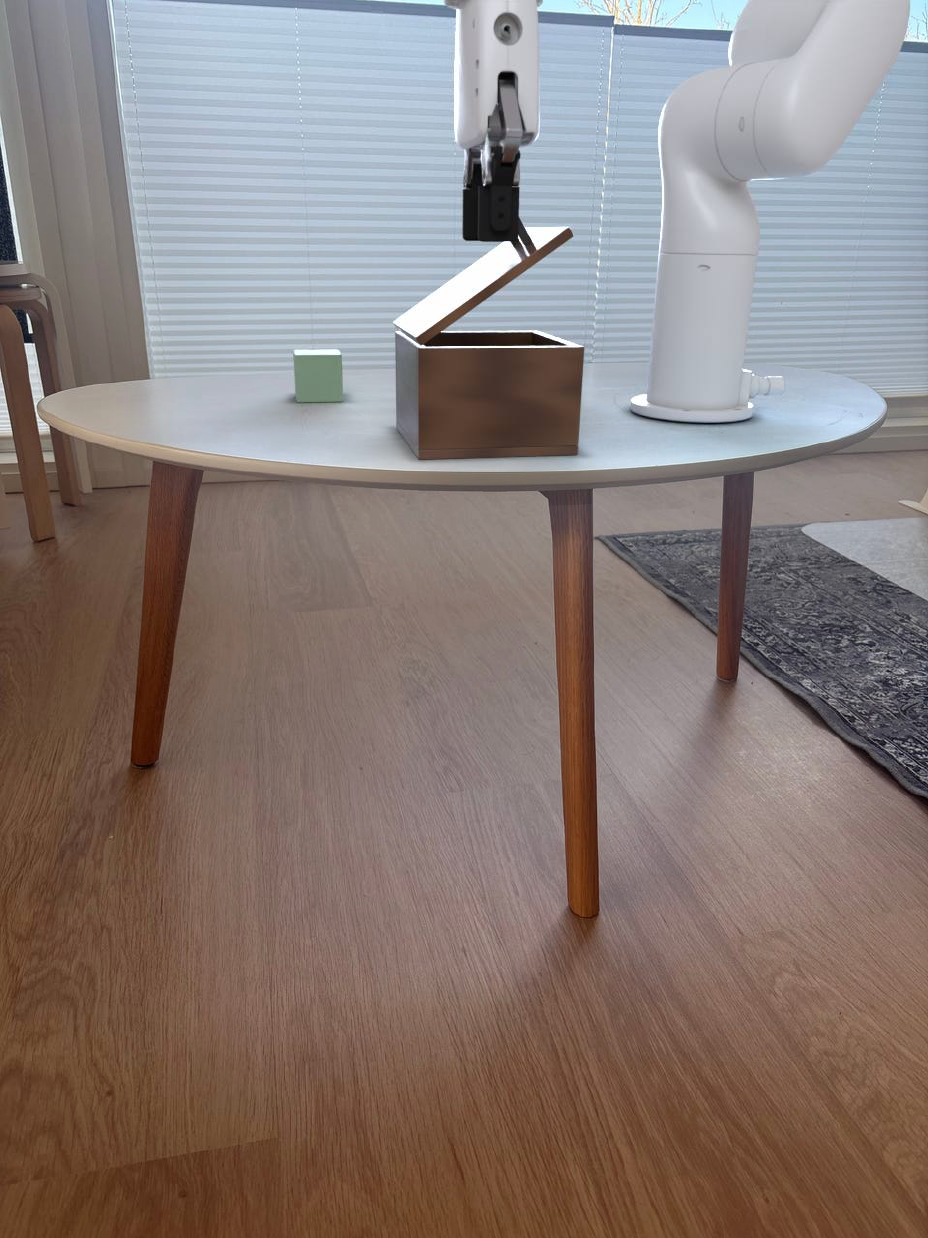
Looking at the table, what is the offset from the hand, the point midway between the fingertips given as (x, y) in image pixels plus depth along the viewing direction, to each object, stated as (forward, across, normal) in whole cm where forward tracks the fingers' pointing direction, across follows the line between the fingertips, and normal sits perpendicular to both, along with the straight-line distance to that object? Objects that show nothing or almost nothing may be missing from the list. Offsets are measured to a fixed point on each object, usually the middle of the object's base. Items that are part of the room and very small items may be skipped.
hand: (489, 238), depth 77 cm
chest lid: (+4, 0, +1) cm, 4 cm away
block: (+17, +25, +13) cm, 33 cm away
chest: (+17, 0, 0) cm, 17 cm away
